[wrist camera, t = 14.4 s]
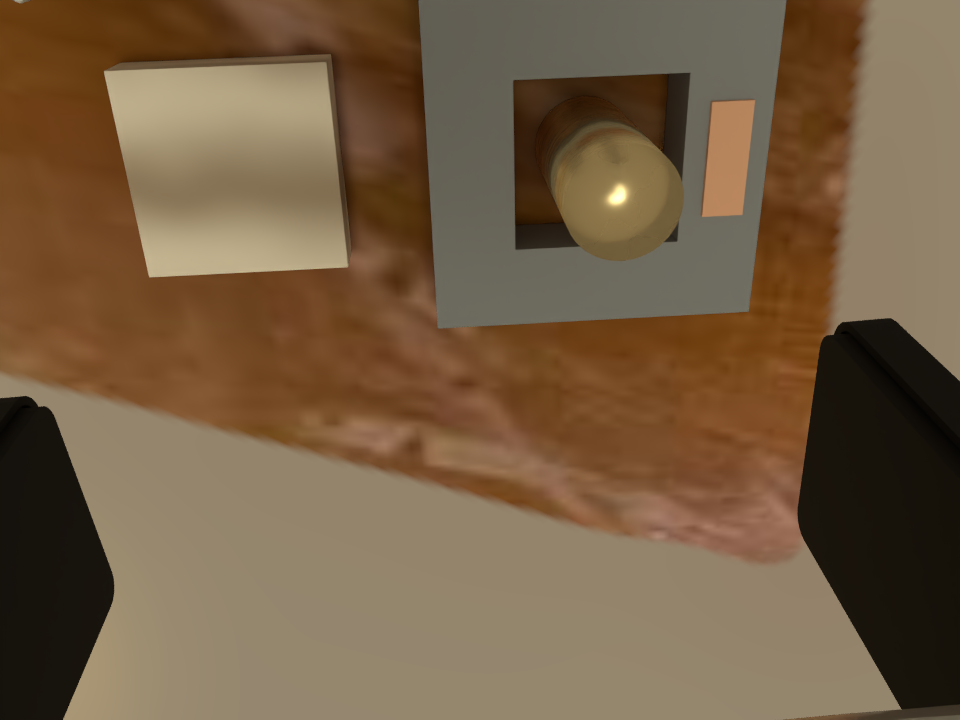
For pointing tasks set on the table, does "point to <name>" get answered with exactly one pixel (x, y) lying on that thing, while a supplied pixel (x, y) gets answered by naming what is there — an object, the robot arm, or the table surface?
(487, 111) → the hole plate
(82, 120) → the table surface
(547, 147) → the brass peg
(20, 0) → the supplement box
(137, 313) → the table surface
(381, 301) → the table surface
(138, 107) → the beige square plate
